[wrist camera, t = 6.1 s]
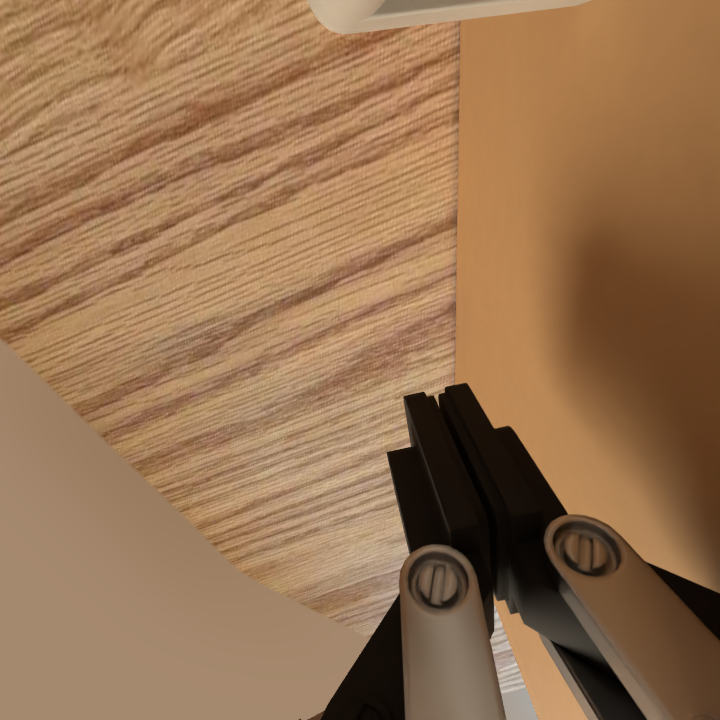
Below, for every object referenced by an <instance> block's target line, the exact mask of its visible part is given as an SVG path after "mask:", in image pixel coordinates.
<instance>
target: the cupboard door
mask: <svg viewBox="0 0 720 720" xmlns="http://www.w3.org/2000/svg"><path fill="white" fill-rule="evenodd" d="M308 3H309V6H310V8H311V10H312V12H313V14H314V15H315V17H316V18H317V19H318V21H319V22H320V23H321V24H322V25H324V26H325V27H326V28H328V29H329V30H331V31H333V32H336V33H340V34H350V33H352V34H353V33H361V32H369V31H377V30H385V29H393V28H401V27H409V26H418V25H426V24H434V23H442V22H450V21H458V20H461V21H460V86H459V151H458V217H457V282H456V347H455V385H457V384H462V383H467V384H468V385H469V387H470V388H471V390H472V392H473V393H474V395H475V397H476V398H477V400H478V402H479V404H480V405H481V407H482V409H483V410H484V412H485V414H486V415H487V417H488V419H489V421H490V422H491V424H492V426H493V427H494V429H495V428H500V427H505V426H510V427H512V429H513V430H514V431H515V433H516V434H517V436H518V437H519V439H520V440H521V442H522V443H523V445H524V446H525V448H526V450H527V451H528V453H529V454H530V456H531V457H532V459H533V460H534V462H535V463H536V465H537V467H538V468H539V470H540V471H541V473H542V474H543V476H544V477H545V479H546V480H547V482H548V484H549V485H550V487H551V488H552V490H553V491H554V493H555V494H556V496H557V497H558V499H559V501H560V502H561V504H562V505H563V507H564V508H565V510H566V511H567V513H568V514H569V515H570V514H577V515H586V516H589V517H593V518H596V519H598V520H600V521H602V522H604V523H606V524H608V525H609V526H611V527H612V528H613V529H614V530H615V531H616V532H618V533H619V534H620V535H621V536H622V537H623V538H624V539H625V540H626V542H627V543H628V544H629V545H630V546H631V547H632V548H633V549H634V550H635V551H636V552H637V553H638V554H639V555H640V556H641V557H642V559H643V560H644V561H646V562H648V563H650V564H653V565H655V566H657V567H660V568H662V569H664V570H667V571H669V572H671V573H674V574H676V575H678V576H681V577H683V578H685V579H688V580H690V581H692V582H695V583H697V584H699V585H702V586H704V587H706V588H709V589H711V590H713V591H716V592H718V593H720V0H308ZM494 603H495V606H496V609H497V611H498V614H499V616H500V619H501V622H502V624H503V627H504V630H505V632H506V635H507V638H508V640H509V643H510V646H511V648H512V651H513V653H514V656H515V659H516V661H517V664H518V667H519V669H520V672H521V675H522V677H523V680H524V682H525V685H526V688H527V690H528V693H529V696H530V698H531V701H532V704H533V706H534V709H535V712H536V714H537V717H538V719H539V720H588V719H587V717H586V715H585V714H584V712H583V710H582V709H581V707H580V705H579V703H578V702H577V700H576V698H575V697H574V695H573V693H572V692H571V690H570V688H569V687H568V685H567V683H566V682H565V680H564V678H563V677H562V675H561V673H560V671H559V670H558V668H557V666H556V665H555V663H554V661H553V660H552V658H551V656H550V655H549V653H548V651H547V650H546V648H545V646H544V645H543V643H542V641H541V638H540V636H539V634H538V632H537V631H535V630H533V629H531V628H530V627H528V626H526V625H525V624H524V623H523V621H522V619H521V616H520V614H519V613H515V614H510V612H509V609H508V607H507V605H506V602H505V600H502V601H497V600H496V598H495V596H494Z"/></svg>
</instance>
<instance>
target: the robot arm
mask: <svg viewBox="0 0 720 720" xmlns="http://www.w3.org/2000/svg"><path fill="white" fill-rule="evenodd" d="M438 398H439V406H438V404H437V402H436V400H435V397H434V396H428V397H426V394H425V392H420V393H416V394H411V395H407V396H404V405H405V411H406V417H407V424H408V430H409V436H410V442H411V447H408V448H404V449H399V450H394V451H390V452H387V456H388V461H389V466H390V471H391V475H392V480H393V485H394V489H395V494H396V498H397V502H398V507H399V511H400V515H401V519H402V524H403V528H404V532H405V537H406V541H407V545H408V550H409V554H410V556H409V557H408V558H407V559H406V560H405V562H404V564H403V566H402V568H401V571H400V580H399V588H400V594H399V595H398V597H397V598H396V600H395V601H394V603H393V604H392V606H391V608H390V609H389V611H388V612H387V614H386V615H385V617H384V618H383V620H382V621H381V623H380V625H379V626H378V628H377V629H376V631H375V632H374V634H373V635H372V637H371V638H370V640H369V642H368V643H367V645H366V646H365V648H364V649H363V651H362V652H361V654H360V655H359V657H358V659H357V660H356V662H355V663H354V665H353V667H352V668H351V669H350V671H349V672H348V674H347V676H346V677H345V679H344V680H343V682H342V683H341V685H340V686H339V688H338V690H337V691H336V693H335V694H334V696H333V697H332V699H331V700H330V702H329V704H328V705H327V708H326V709H325V711H323V712H321V713H319V714H317V715H316V716H314V717H312V718H310V719H308V720H506V716H505V711H504V706H503V701H502V696H501V692H500V687H499V682H498V677H497V672H496V667H495V662H494V658H493V653H492V648H491V643H490V638H491V636H492V634H493V632H494V596H495V598H496V600H497V601H502V600H505V602H506V605H507V607H508V609H509V612H510V614H515V613H519V614H520V616H521V619H522V621H523V623H524V624H525V625H526V626H528V627H530V628H531V629H533V630H535V631H537V632H538V634H539V636H540V638H541V641H542V643H543V645H544V646H545V648H546V650H547V651H548V653H549V655H550V656H551V658H552V660H553V661H554V663H555V665H556V666H557V668H558V670H559V671H560V673H561V675H562V677H563V678H564V680H565V682H566V683H567V685H568V687H569V688H570V690H571V692H572V693H573V695H574V697H575V698H576V700H577V702H578V703H579V705H580V707H581V709H582V710H583V712H584V714H585V715H586V717H587V719H588V720H720V593H718V592H716V591H713V590H711V589H709V588H706V587H704V586H702V585H699V584H697V583H695V582H692V581H690V580H688V579H685V578H683V577H681V576H678V575H676V574H674V573H671V572H669V571H667V570H664V569H662V568H660V567H657V566H655V565H653V564H650V563H648V562H646V561H644V560H643V559H642V557H641V556H640V555H639V554H638V553H637V552H636V551H635V550H634V549H633V548H632V547H631V546H630V545H629V544H628V543H627V542H626V540H625V539H624V538H623V537H622V536H621V535H620V534H619V533H618V532H616V531H615V530H614V529H613V528H612V527H611V526H609V525H608V524H606V523H604V522H602V521H600V520H598V519H596V518H593V517H589V516H586V515H577V514H570V515H569V514H568V513H567V511H566V510H565V508H564V507H563V505H562V504H561V502H560V501H559V499H558V497H557V496H556V494H555V493H554V491H553V490H552V488H551V487H550V485H549V484H548V482H547V480H546V479H545V477H544V476H543V474H542V473H541V471H540V470H539V468H538V467H537V465H536V463H535V462H534V460H533V459H532V457H531V456H530V454H529V453H528V451H527V450H526V448H525V446H524V445H523V443H522V442H521V440H520V439H519V437H518V436H517V434H516V433H515V431H514V430H513V429H512V427H510V426H505V427H500V428H495V429H494V427H493V426H492V424H491V422H490V421H489V419H488V417H487V415H486V414H485V412H484V410H483V409H482V407H481V405H480V404H479V402H478V400H477V398H476V397H475V395H474V393H473V392H472V390H471V388H470V387H469V385H468V384H467V383H462V384H457V385H453V386H448V387H445V393H442V394H439V396H438ZM439 408H440V409H439ZM299 720H301V719H299Z"/></svg>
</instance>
